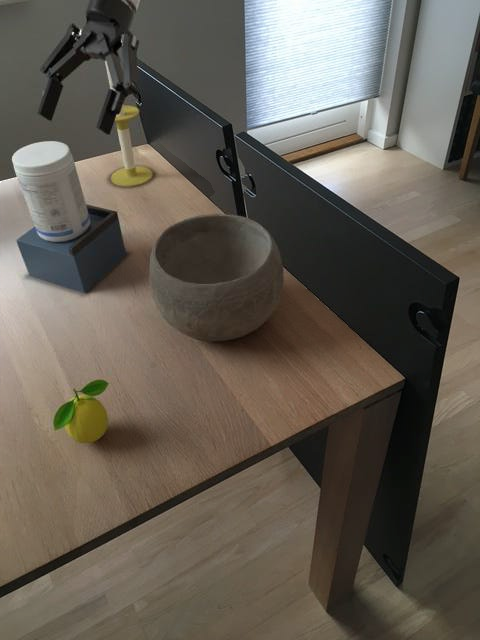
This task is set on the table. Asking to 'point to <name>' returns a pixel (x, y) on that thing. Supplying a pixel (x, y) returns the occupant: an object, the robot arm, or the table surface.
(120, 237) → the blue storage bin
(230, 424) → the table surface
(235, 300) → the bowl
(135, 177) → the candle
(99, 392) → the lemon
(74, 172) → the supplement tub
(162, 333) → the table surface
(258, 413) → the table surface
